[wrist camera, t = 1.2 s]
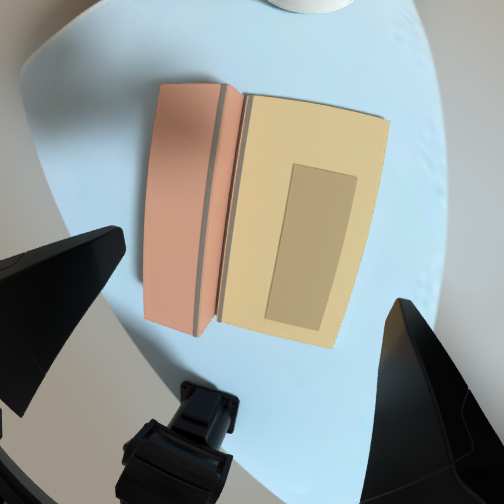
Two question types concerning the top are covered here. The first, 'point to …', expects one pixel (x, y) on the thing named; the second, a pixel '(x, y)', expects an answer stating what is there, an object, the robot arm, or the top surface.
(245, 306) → the tan rectangular slab
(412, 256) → the top surface
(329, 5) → the beverage can
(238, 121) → the pink long block
